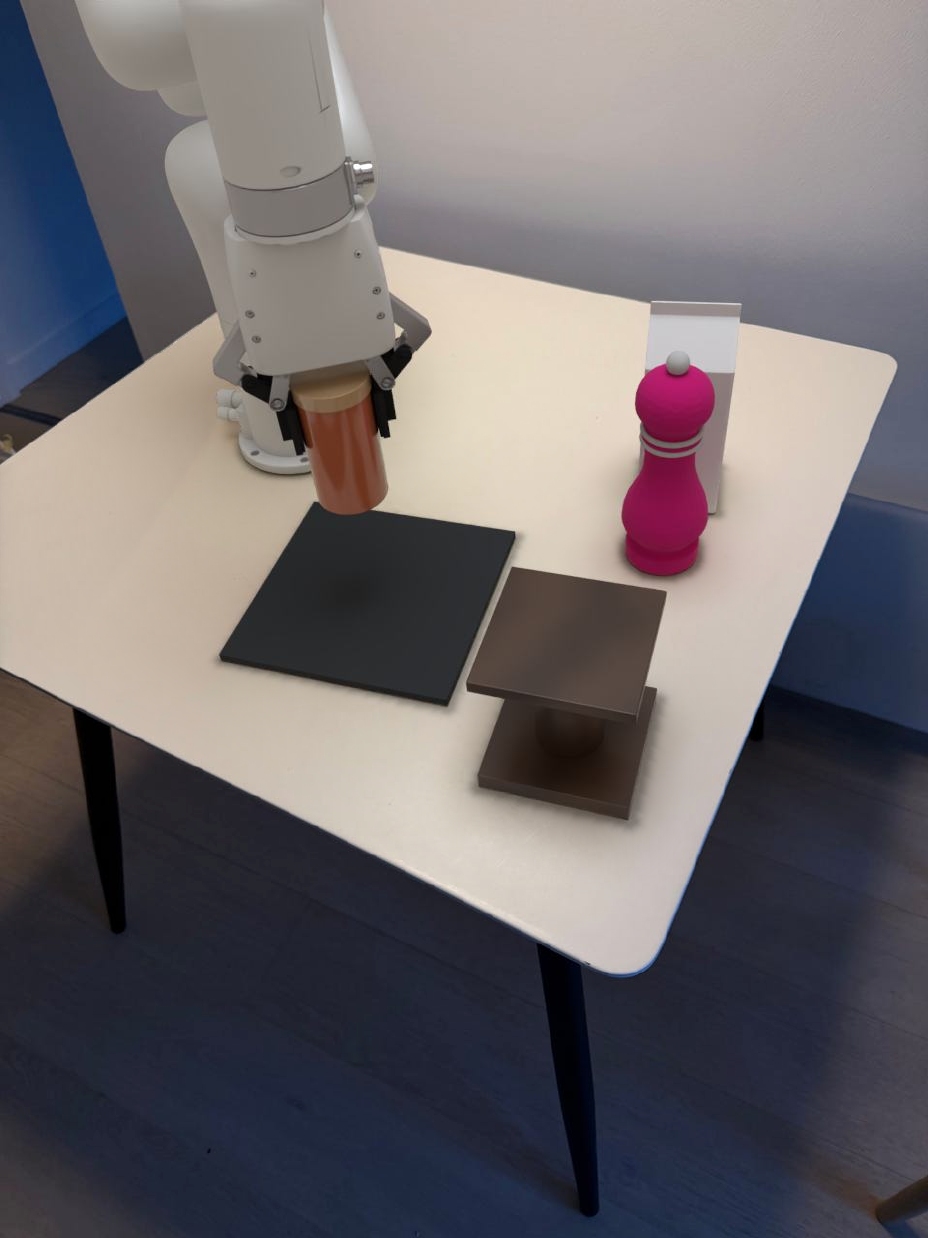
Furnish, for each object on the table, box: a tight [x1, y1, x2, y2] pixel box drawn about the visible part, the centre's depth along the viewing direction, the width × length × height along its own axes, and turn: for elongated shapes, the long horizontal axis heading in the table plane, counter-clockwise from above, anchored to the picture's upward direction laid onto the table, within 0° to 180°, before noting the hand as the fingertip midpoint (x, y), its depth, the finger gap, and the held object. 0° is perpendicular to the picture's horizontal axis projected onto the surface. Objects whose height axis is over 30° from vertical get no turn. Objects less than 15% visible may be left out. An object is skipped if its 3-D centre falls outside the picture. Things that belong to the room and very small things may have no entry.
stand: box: [465, 566, 668, 820], centre depth 70 cm, size 11×11×12 cm
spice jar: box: [289, 360, 389, 515], centre depth 74 cm, size 6×6×11 cm
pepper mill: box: [620, 351, 715, 576], centre depth 80 cm, size 7×7×20 cm
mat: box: [218, 500, 517, 707], centre depth 86 cm, size 20×20×1 cm
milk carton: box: [638, 300, 743, 514], centre depth 86 cm, size 7×7×19 cm
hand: (341, 434), depth 74 cm, fingers closed on spice jar, 5 cm apart
